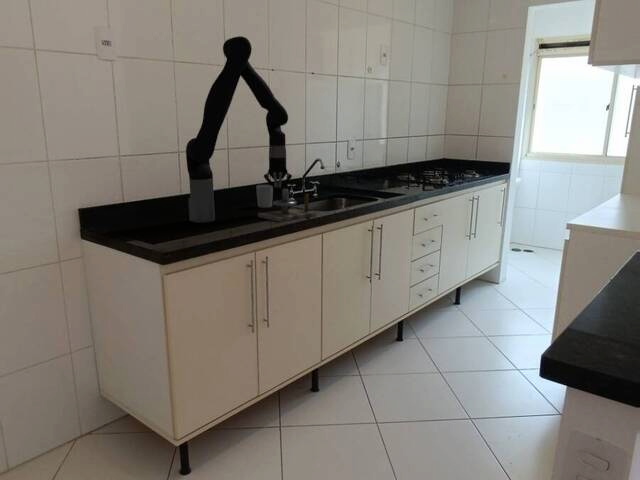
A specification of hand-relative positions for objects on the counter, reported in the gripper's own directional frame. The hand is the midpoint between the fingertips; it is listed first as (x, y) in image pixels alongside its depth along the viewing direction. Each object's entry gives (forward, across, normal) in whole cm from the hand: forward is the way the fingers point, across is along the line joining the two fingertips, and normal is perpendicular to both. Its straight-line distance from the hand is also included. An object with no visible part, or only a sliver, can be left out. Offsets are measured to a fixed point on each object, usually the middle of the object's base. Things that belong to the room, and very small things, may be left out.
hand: (278, 195), depth 220 cm
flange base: (+8, +4, -9) cm, 13 cm away
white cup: (+8, -7, +17) cm, 20 cm away
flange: (+2, +3, -7) cm, 8 cm away
